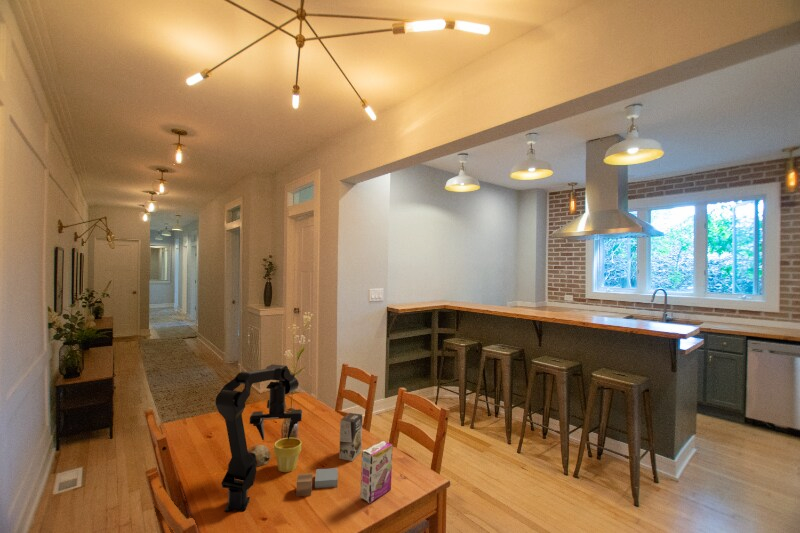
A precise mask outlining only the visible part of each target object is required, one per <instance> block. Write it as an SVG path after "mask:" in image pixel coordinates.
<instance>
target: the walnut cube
mask: <svg viewBox="0 0 800 533" xmlns="http://www.w3.org/2000/svg"><path fill="white" fill-rule="evenodd" d="M295 487H296V494H295V495H296V496H295V497H307V496H312V491H313V472H312V473H311V472H310V473H298V474H297V478H296V486H295Z"/></svg>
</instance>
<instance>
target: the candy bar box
mask: <svg viewBox="0 0 800 533" xmlns="http://www.w3.org/2000/svg"><path fill="white" fill-rule="evenodd" d="M392 465H393V444H392V443H390V442H387V441H385V440H382V441H380V442H378V443H375V444H374V445H371V446H369V447H367V448H366V449H363V450H361V471H360V472H361V476H360V477H361V478H360V499H361V500H362V501H364V502H366V503H368V504H369V505H370V504H371V503H373V502H374V501H376V500H377V499H380V498H381V497H382V496H384V495H385V494H387V493H388V492H390V491H391V490H392V467H393V466H392Z"/></svg>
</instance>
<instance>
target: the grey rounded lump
mask: <svg viewBox="0 0 800 533" xmlns="http://www.w3.org/2000/svg"><path fill="white" fill-rule="evenodd" d="M247 450H248V452H250V453H255V455H256V462H257V464H256V467H260V466H263V465H264V466H265V465H267V463H268V462H269V460H270V459H271V456H272V454H271V450H270V449H269V448H268V446H266V445H265V444H256V445H253V446H251V447H250V448H247Z"/></svg>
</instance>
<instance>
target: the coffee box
mask: <svg viewBox="0 0 800 533" xmlns="http://www.w3.org/2000/svg"><path fill="white" fill-rule="evenodd" d="M339 424H340V426H339V427H340V428H339V453H338V459H340V460H345V461H350V462H353V461H354V460H356V458H357V457H358V456H359V455H360V454H362V447H363V446H362V445H363V443H362V440H363V439H362V438H363V435H362V434H363V414H361V413H353V412H349V413H348V414H346V415H345V416H343V417H342V418H341V419H340V423H339Z"/></svg>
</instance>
